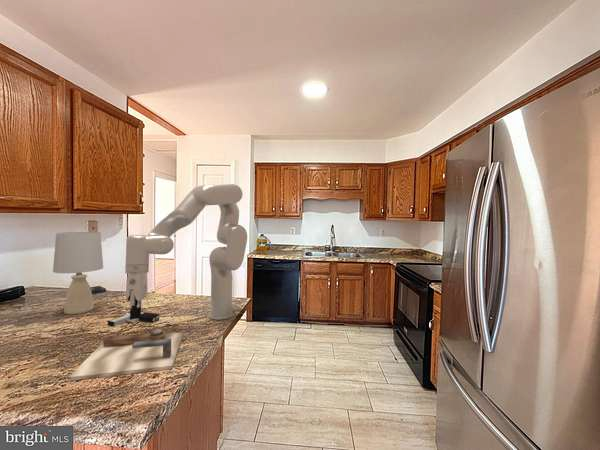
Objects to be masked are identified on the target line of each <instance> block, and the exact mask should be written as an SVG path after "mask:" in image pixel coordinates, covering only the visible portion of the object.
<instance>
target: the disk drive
mask: <svg viewBox="0 0 600 450" xmlns="http://www.w3.org/2000/svg"><path fill="white" fill-rule="evenodd" d="M90 289H91V292H92V295H97V294H103V293H106V292H107V288H105V287H103V286H101V285H97V286H90Z"/></svg>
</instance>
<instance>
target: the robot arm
mask: <svg viewBox="0 0 600 450" xmlns="http://www.w3.org/2000/svg"><path fill="white" fill-rule="evenodd" d="M242 199H243V190H242V188H241V187H240V186H239V185H238V184H235V183H232V184H231V183H229V184H205V185H204V184H203V185H198V186H195V187H194V188H192V189H191V191H190V192H189V193H188V194H187V195H186V196H185V197H184V198H183V200H182V201H181V202H180V203H179V204H178V205H177V206H176V208H175V209H174V210H172V212H170V213H169V214H167V215H166V216H165V217H164V218H163V219H161V220H160V221H159V222H158V223H157V224H156V225H155V226H154V227H153V229H152V230H151V231H150V232H149V233H148V234H147V235H145V234H131V235H128V236H126V243H125V245H126V246H125V267H124V268H125V271H124V274H126V275H127V278H126V286H125V287H126V289H125V299H126V301H127V302H129V308H130V309H129V312H130V319H139V318H140V317H141V312H142V303H143V300H144V299H145V298H146V297H147V296H148V273H150V271H149V270H150V269H149V268H150V255H160V256H161V255H162V256H163V255H167V254H169V253H171V252H172V250H174V246H175V245H174V244H175V243H174V240H173V239H172V238H171V237H172V236H173V235H174V234H175V233H176V232H178V231H179V230H181V229H184V228H186V227H187V226H190V225H191V224H193V222H194V221H195V220H196V219H197V218H198V216H199V215H200V213H201V212H202V211H203V210H204V209H205V208H206V207H207V206H218V207H219V209H220V217H219V222H218V227H217V231H216V239H217V241H218V242H219V243H220V244H223V245H226V247H225V246H217V247H215V248H213V250H211V252H210V254H209V259H208V261H209V267H210V310H209V311H208V312H207V313H206V316H207V318H208V319H210V320H216V321H218V320H219V321H221V320H227V319H230V318H231V319H232V318H234V317H235V316H236V312H241V311H243V306H240V305H234V303H233V281H234V280H233V271H237V270H238V269H239V268H241V266H242V265H243V263H244V259H245V253H246V248H247V243H248V233H247V230H246V228H245V227H244V226H242V225H241V224H239V219H240V210H239V207H238V204H237V203H239V202H240V201H241V200H242Z"/></svg>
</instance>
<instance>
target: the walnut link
mask: <svg viewBox="0 0 600 450" xmlns="http://www.w3.org/2000/svg"><path fill="white" fill-rule="evenodd" d="M166 334H167V333H166V331H161V333H160V334H157V335H154V334H153V332H146V333H134V334H121V335H110V336H106V337H104V338H103V339H102V340H103V341H102V342H103V345H104V346H111V345H122V344H133V343H134V342H138V341H149V340H160V339H165V337H166Z"/></svg>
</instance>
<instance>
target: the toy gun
mask: <svg viewBox="0 0 600 450" xmlns="http://www.w3.org/2000/svg"><path fill="white" fill-rule="evenodd" d="M159 320H160V313H154V312H143V311H141V317H140V318H139V319H130V311H129V312H125V314H124V315H122V316H119V317H116V318H114V319H111V320H107V326H108V327H113V328H114V327H117V326H120V325H123V324H125V323H127V322H143V323H150V324H151V323H152V324H153V323H156V322H158V321H159Z"/></svg>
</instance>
